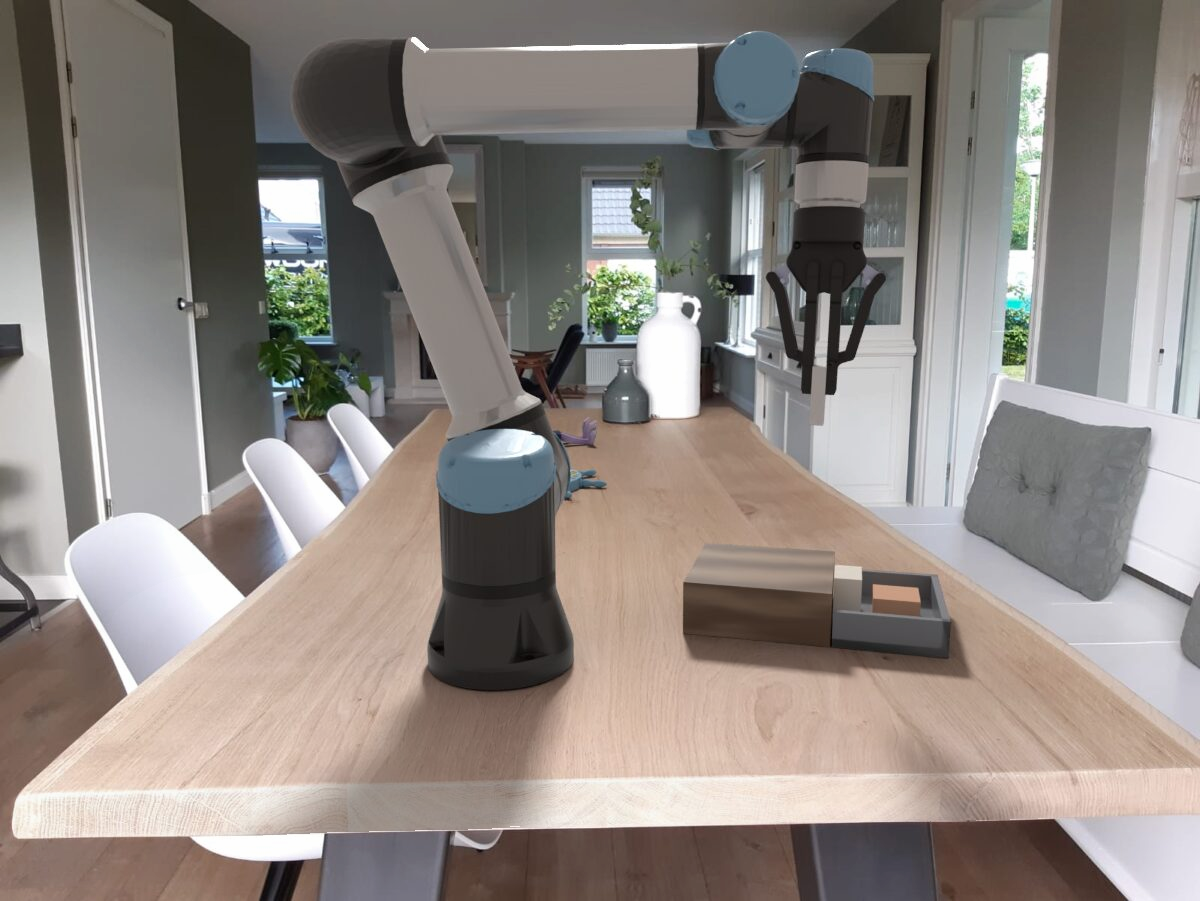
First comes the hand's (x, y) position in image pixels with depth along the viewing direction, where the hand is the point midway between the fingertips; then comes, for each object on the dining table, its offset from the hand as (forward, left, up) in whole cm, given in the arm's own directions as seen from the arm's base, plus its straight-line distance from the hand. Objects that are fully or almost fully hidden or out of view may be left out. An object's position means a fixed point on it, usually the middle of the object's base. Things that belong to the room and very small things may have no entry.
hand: (816, 423), depth 103 cm
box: (0, -9, -23) cm, 25 cm away
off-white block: (0, -3, -20) cm, 20 cm away
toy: (+100, +69, -24) cm, 124 cm away
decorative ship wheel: (+60, +55, -24) cm, 85 cm away
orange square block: (0, -9, -19) cm, 21 cm away
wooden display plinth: (0, +5, -23) cm, 24 cm away
